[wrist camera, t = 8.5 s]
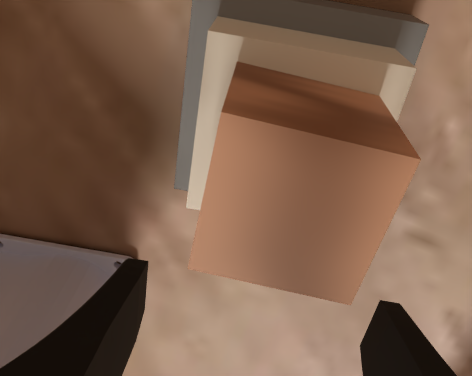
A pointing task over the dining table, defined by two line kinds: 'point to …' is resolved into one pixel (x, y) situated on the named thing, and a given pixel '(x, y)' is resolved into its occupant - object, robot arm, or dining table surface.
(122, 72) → the dining table surface
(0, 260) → the robot arm
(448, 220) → the dining table surface
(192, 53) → the bottom slab
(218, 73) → the top slab
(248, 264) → the terracotta cube
